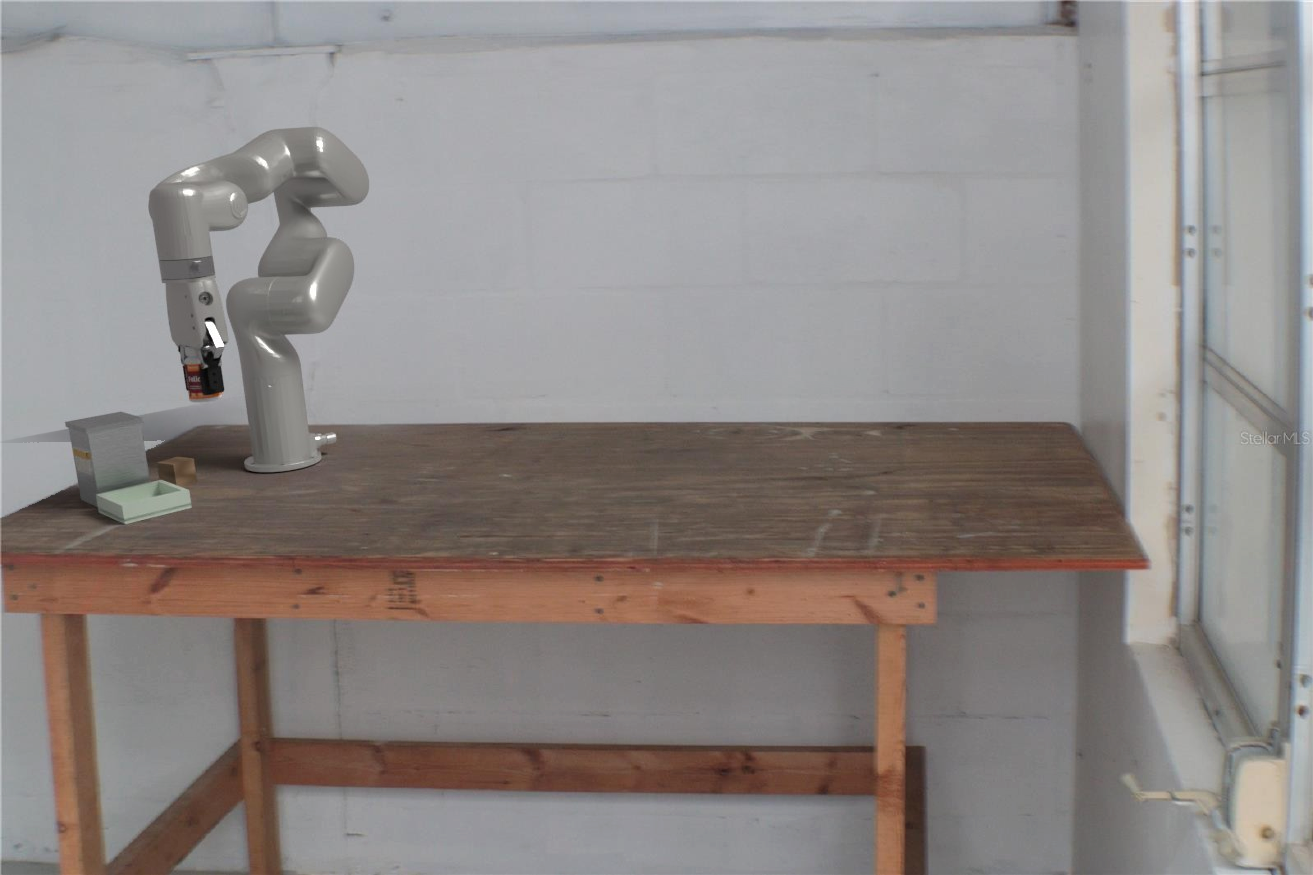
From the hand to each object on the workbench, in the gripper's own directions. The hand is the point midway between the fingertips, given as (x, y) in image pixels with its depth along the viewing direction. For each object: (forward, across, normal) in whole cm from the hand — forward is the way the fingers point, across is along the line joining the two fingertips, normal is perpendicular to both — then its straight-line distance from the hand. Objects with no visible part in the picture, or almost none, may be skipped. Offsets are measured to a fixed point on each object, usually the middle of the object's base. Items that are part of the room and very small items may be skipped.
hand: (205, 390), depth 183 cm
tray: (+17, +4, +10) cm, 20 cm away
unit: (+17, +15, +10) cm, 25 cm away
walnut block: (+17, +15, 0) cm, 23 cm away
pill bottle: (+2, 0, 0) cm, 2 cm away
